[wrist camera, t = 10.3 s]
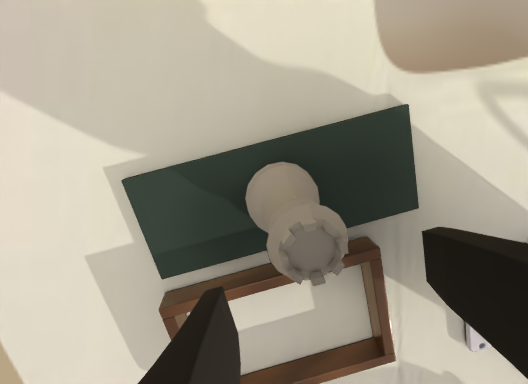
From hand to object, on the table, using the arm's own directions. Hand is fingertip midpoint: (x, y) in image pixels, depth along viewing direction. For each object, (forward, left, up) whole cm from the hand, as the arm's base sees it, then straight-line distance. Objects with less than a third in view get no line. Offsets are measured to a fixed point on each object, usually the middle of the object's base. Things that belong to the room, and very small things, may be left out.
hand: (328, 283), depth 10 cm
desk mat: (0, -1, -9) cm, 9 cm away
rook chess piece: (0, -1, -9) cm, 9 cm away
